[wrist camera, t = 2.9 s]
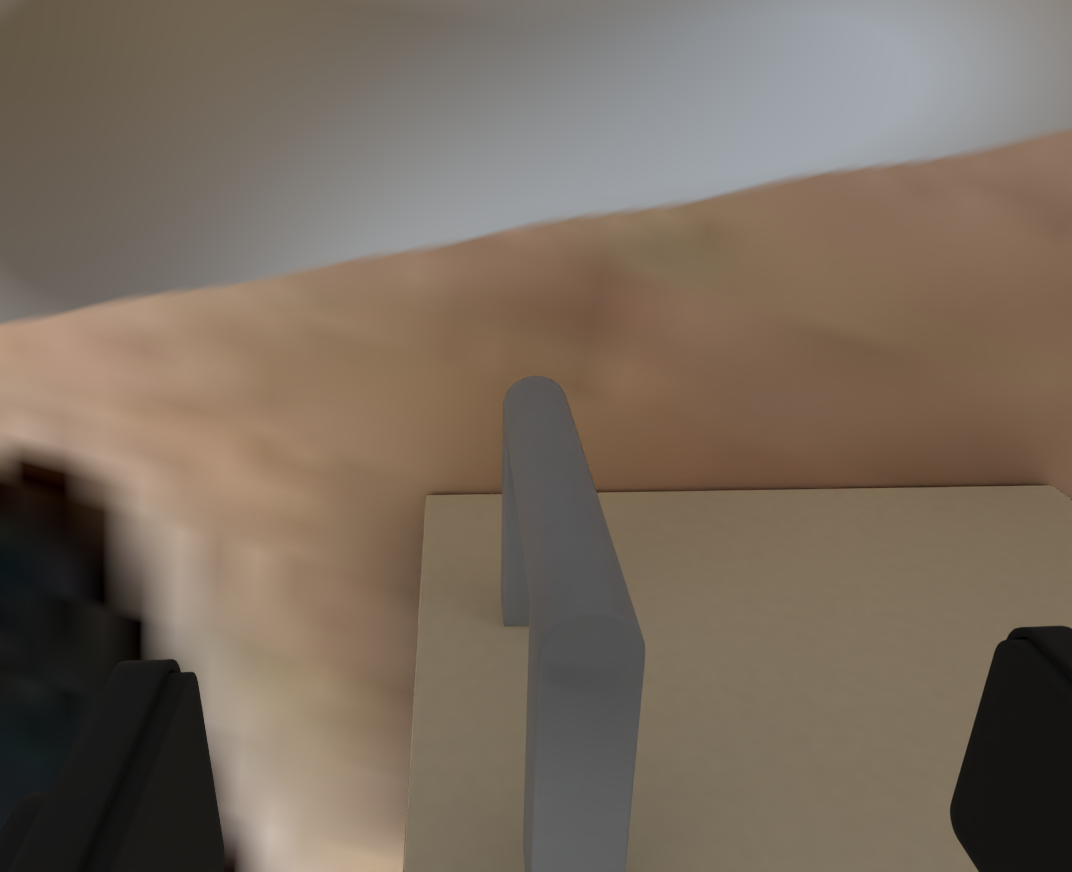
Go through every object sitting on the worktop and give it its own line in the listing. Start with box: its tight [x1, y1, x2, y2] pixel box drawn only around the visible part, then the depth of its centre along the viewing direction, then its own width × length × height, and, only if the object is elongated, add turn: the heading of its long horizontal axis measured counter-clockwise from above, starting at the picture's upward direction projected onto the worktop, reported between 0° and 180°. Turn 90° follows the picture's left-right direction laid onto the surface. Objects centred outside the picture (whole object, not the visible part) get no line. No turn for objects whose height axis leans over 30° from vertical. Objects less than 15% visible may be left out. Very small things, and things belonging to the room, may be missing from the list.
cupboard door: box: [403, 376, 1072, 872], centre depth 19 cm, size 7×22×22 cm, turn 88°
